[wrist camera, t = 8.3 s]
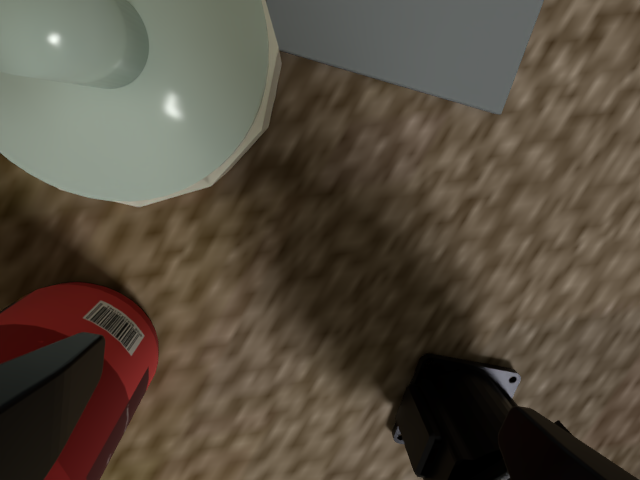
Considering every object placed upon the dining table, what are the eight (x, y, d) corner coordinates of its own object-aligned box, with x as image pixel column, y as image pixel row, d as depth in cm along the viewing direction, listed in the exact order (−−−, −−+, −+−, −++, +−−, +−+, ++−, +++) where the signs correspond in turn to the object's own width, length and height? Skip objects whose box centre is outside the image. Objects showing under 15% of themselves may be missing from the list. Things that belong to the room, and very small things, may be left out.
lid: (298, -83, 12) (303, -219, 7) (239, 221, 15) (215, 271, 10) (-60, -203, 10) (-356, -474, 6) (-48, 160, 13) (-239, 183, 8)
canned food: (6, 268, 20) (-318, 441, 9) (166, 285, 21) (37, 460, 10) (18, 391, 22) (-233, 643, 11) (162, 402, 23) (52, 644, 12)
